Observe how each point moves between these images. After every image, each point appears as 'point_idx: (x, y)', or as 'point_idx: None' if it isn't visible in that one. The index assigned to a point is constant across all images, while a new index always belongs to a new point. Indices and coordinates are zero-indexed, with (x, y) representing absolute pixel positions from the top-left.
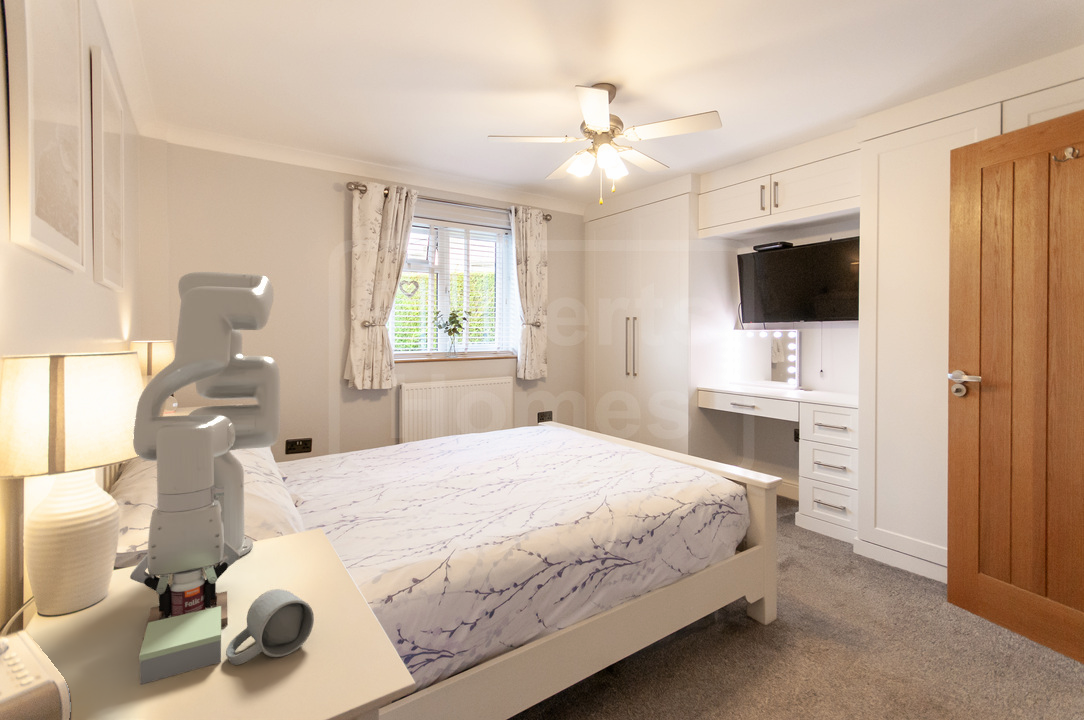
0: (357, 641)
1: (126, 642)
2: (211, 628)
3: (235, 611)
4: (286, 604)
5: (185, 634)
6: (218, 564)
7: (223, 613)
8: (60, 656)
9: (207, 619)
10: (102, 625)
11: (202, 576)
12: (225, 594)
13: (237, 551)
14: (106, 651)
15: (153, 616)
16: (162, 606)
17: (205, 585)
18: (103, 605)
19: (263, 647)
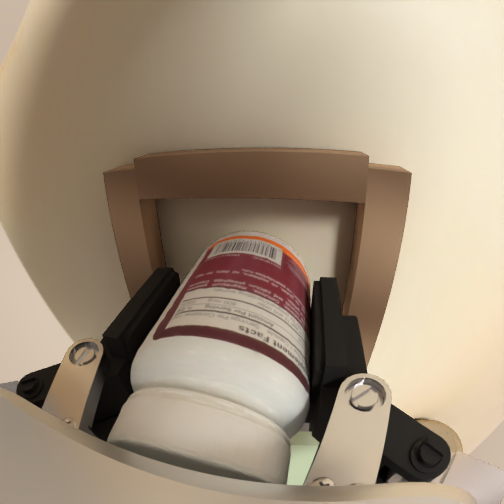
0: (464, 445)
1: (117, 309)
2: (300, 481)
3: (399, 304)
4: None
5: None
6: (395, 469)
7: None
8: (35, 285)
9: (296, 467)
10: (35, 177)
11: (292, 417)
12: (400, 209)
13: (499, 500)
14: (96, 321)
15: (132, 258)
16: None
17: (305, 421)
18: (19, 51)
19: None
